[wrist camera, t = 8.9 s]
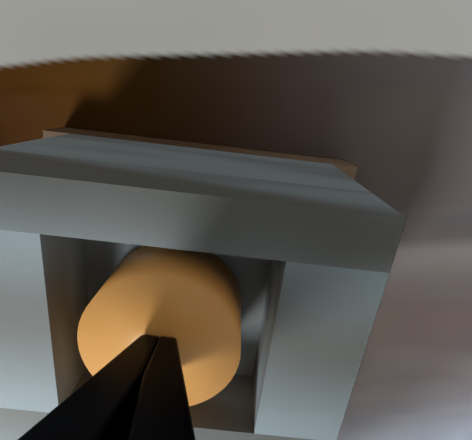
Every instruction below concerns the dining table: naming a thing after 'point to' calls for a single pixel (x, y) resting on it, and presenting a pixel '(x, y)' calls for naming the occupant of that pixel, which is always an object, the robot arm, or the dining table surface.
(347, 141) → the dining table surface
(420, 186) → the dining table surface
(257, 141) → the dining table surface
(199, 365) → the button
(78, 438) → the robot arm
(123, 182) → the rail board
